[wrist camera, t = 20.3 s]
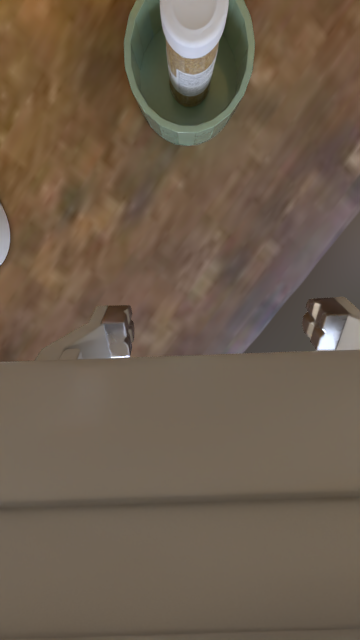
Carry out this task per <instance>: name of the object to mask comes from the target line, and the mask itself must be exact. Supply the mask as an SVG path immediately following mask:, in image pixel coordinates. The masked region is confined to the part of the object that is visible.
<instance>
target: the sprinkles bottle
mask: <svg viewBox="0 0 360 640" xmlns="http://www.w3.org/2000/svg"><path fill="white" fill-rule="evenodd" d="M228 5H229V0H160V15H161V23H162V28H163V32H164V35H165V38H166V53H167V63H168V72H169V85H170V89H171V93H172V95H173V97H174V98H175V100H176V101H177V102H178V103H180V104H181V105H183V106H185V107H193V106H197V105H198V104H200V103H201V102H202V101H203V100H204V99H205V98H206V96H207V94H208V92H209V89H210V83H211V77H212V73H213V69H214V65H215V61H216V56H217V52H218V46H219V40H220V38H221V36H222V33H223V31H224V27H225V23H226V18H227V13H228Z"/></svg>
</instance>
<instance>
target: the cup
mask: <svg viewBox="0 0 360 640" xmlns="http://www.w3.org/2000/svg"><path fill="white" fill-rule="evenodd" d="M254 51H255V40H254V33H253V26H252V19H251V16H250V14H249V11H248V9H247V7H246V4H245V2H244V0H229V5H228V13H227V18H226V23H225V27H224V31H223V33H222V36H221V38H220V40H219V46H218V52H217V56H216V61H215V65H214V69H213V73H212V77H211V83H210V89H209V92H208V94H207V96H206V98H205V99H204V100H203V101H202V102H201V103H200V104H198V105H197V106H193V107H185V106H183V105H181V104H180V103H178V102H177V101H176V100H175V98H174V97H173V95H172V93H171V89H170V85H169V72H168V63H167V53H166V38H165V35H164V32H163V28H162V23H161V15H160V0H136V2H135V4H134V6H133V8H132V10H131V12H130V15H129V18H128V23H127V28H126V33H125V37H124V60H125V70H126V73H127V77H128V80H129V83H130V87H131V90H132V93H133V95H134V97H135V99H136V101H137V103H138V106H139V108H140V110H141V112H142V114H143V115H144V117H145V119H146V120H147V122H148V123H149V125H150V126H151V128H152V129H153V130H154V131H155V132H156V133H157V134H158V135H160V136H161V137H162V138H164V139H165V140H167V141H169V142H171V143H174V144H178V145H184V146H191V145H197V144H200V143H203V142H206V141H208V140H210V139H211V138H213V137H214V136H215V135H217V134H218V133H219V132H220V131H221V130H222V129H223V128H224V127H225V125H226V124H227V123H228V121H229V120H230V118H231V117H232V115H233V114H234V112H235V110H236V108H237V106H238V105H239V103H240V101H241V99H242V97H243V95H244V93H245V90H246V88H247V85H248V82H249V79H250V76H251V74H252V70H253V61H254Z"/></svg>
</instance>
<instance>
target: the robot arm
mask: <svg viewBox="0 0 360 640" xmlns="http://www.w3.org/2000/svg"><path fill="white" fill-rule="evenodd" d="M9 246H10V229H9V223H8V220H7V217H6V214H5V211H4V209H3V207H2V205H1V203H0V265H1V264H2V263H3V261H4V260H5V258H6V256H7V253H8V250H9ZM306 309H307V311H308V312H307V313H306V314H305V315H304V316H303V321H302V324H303V325H302V326H303V330H304V333H305V334H306V335H307V336H309V337H311V340H310V342H311V343H312V344H313V346H314V347H315V349H316V350H330V351H302V352H276V353H275V352H274V353H247V354H246V353H245V354H216V355H188V356H159V357H130V355H131V350H132V344H131V343H132V342H133V341H134V323H133V321H132V320H131V317H132V310H131V306H130V305H119V306H108V305H107V306H97V307H96V309H95V311H94V313H93V315H92V317H91V319H90V321H89V323H88V324H85V325H83V326H81V327H79V328H78V329H76V330H74V331H72V332H71V333H69V334H67V335H66V336H64V337H62V338H60V339H59V340H57V341H55V342H53V343H52V344H50V345H48V346H46V347H45V348H43V349H42V350H41V351H40V353H39V354H38V356H37V357H36V359H35V360H34V361H18V362H0V640H360V310H358V309H357V308H356V307H355V306H354V305H353V304H352V303H351V302H349V301H348V300H347V299H346V298H344V297H335V298H317V299H309V300H308V302H307V304H306ZM120 357H130V358H120Z"/></svg>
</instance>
